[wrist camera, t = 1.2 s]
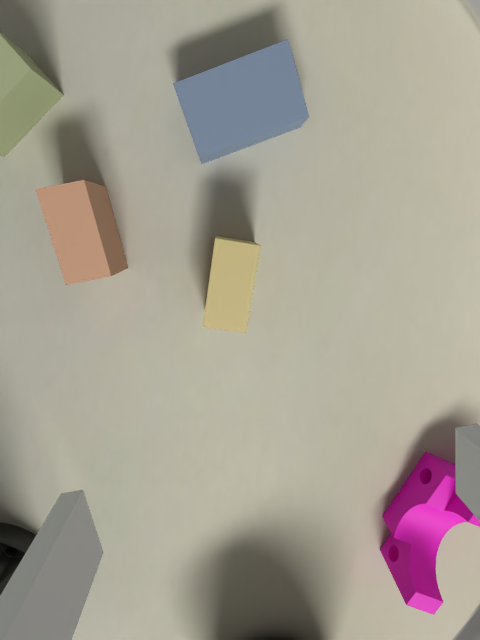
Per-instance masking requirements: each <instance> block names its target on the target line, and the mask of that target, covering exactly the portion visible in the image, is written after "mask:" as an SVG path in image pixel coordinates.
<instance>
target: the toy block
mask: <svg viewBox="0 0 480 640" xmlns="http://www.w3.org/2000/svg"><path fill="white" fill-rule="evenodd" d="M382 517H383V519H384V521H385V522H386V524H387V526H388V528H389V530H390V532H391V534H390V536H389V537H388V539H387V540H386V541H385V543H384V544H383V546H382V547H381V549H380V551H381V553H382V555H383V557H384V559H385V561H386V563H387V565H388V567H389V570H390V572H391V574H392V576H393V578H394V580H395V582H396V584H397V586H398V588H399V590H400V593H401V595H402V597H403V599H404V601H405V603H406V605H408V606H411V607H414V608H416V609H419V610H422V611H425V612H428V613H431V614H433V615H434V614H435V612H436V611H437V610H438V608H439V607H440V606H441V605H442V603H443V600H442V597H441V595H440V592H439V589H438V585H437V580H436V569H435V568H436V556H437V551H438V547H439V544H440V542H441V540H442V538H443V537H444V535H445V534H446V533H447V531H448V530H449V529H451V528H452V527H453V526H455V525H457V524H459V523H462V522H469V523H472V524H474V525H477V526H479V527H480V521H479V520H478V519H477V518H476V516H475V515H474V514H473V513H472V512H471V511H470V509H469V508H468V507H467V506H466V505H465V504H464V502H463V501H462V500H461V499H460V498H459V497H458V495H457V494H456V472H455V464H453V463H450V462H448V461H446V460H443V459H441V458H439V457H436V456H434V455H432V454H429V453H427V452H425V454H424V455H423V457H422V458H421V460H420V461H419V463H418V464H417V466H416V467H415V469H414V470H413V472H412V473H411V475H410V476H409V477H408V479H407V480H406V482H405V483H404V485H403V486H402V488H401V489H400V491H399V492H398V494H397V495H396V497H395V498H394V500H393V501H392V503H391V504H390V506H389V507H388V509H387V510H386V511H385V513H384V514H383V516H382Z"/></svg>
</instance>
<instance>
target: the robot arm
mask: <svg viewBox="0 0 480 640" xmlns="http://www.w3.org/2000/svg"><path fill="white" fill-rule="evenodd" d="M455 472H456V494H457V495H458V497H459V498H460V499H461V500H462V501H463V502H464V504H465V505H466V506H467V507H468V508H469V509H470V511H471V512H472V513H473V514H474V515H475V516H476V518H477V519H478V520H479V521H480V426H479V425H478V424H473V425H467V426H461V427H455ZM102 554H103V550H102V547H101V544H100V541H99V538H98V534H97V531H96V528H95V525H94V522H93V519H92V516H91V513H90V510H89V507H88V504H87V501H86V498H85V495H84V492H83V490H79V491H73V492H67V493H61V495H60V496H59V498H58V500H57V501H56V503H55V505H54V506H53V508H52V510H51V511H50V513H49V515H48V516H47V518H46V520H45V522H44V523H43V525H42V527H41V528H40V530H39V532H38V533H37V535H35V534H33V533H31V532H29V531H27V530H25V529H23V528H21V527H18V526H15V525H11V524H6V523H0V640H72V637H73V634H74V631H75V629H76V626H77V623H78V620H79V618H80V615H81V612H82V609H83V607H84V604H85V601H86V598H87V596H88V593H89V590H90V587H91V585H92V582H93V579H94V576H95V574H96V571H97V568H98V565H99V563H100V560H101V557H102Z"/></svg>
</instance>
